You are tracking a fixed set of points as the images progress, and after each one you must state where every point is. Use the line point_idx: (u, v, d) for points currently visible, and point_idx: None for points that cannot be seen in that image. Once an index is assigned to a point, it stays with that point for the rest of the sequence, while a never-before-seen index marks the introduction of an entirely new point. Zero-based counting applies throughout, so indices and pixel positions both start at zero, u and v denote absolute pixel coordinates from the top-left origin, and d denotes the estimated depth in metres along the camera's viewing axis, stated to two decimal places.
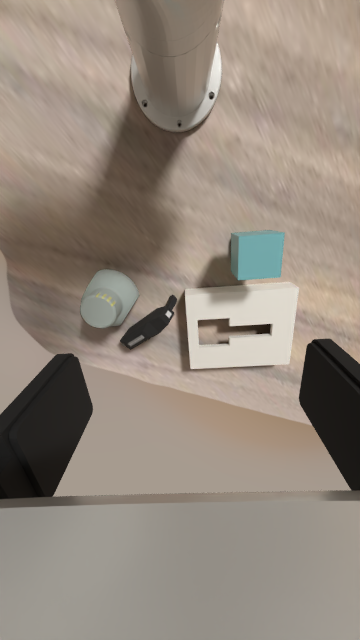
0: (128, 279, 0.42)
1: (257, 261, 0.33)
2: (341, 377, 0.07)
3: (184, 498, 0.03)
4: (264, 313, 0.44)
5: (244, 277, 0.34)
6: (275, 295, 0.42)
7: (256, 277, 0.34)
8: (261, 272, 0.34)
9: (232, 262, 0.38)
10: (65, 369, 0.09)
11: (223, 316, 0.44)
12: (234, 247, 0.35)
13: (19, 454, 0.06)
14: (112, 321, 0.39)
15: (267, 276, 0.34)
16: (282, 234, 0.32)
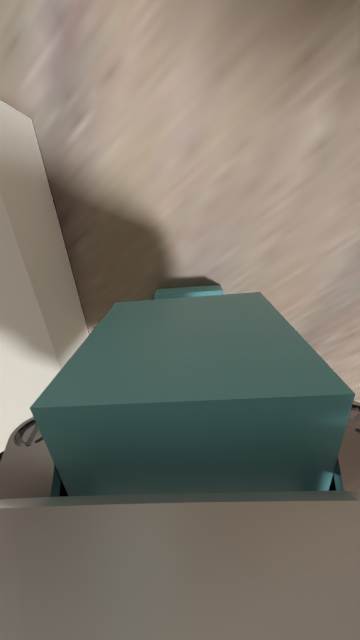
0: None
1: (171, 490, 0.05)
2: None
3: (184, 498, 0.03)
4: None
5: (60, 439, 0.05)
6: None
7: (75, 492, 0.06)
8: None
9: (150, 312, 0.09)
10: None
11: None
12: (226, 326, 0.07)
13: None
14: None
15: None
16: None
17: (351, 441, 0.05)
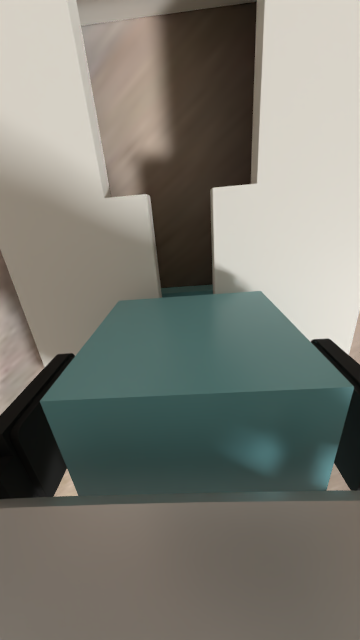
0: None
1: (176, 481, 0.06)
2: None
3: (184, 498, 0.03)
4: None
5: (69, 432, 0.05)
6: None
7: (82, 484, 0.06)
8: None
9: (154, 310, 0.09)
10: None
11: (270, 146, 0.09)
12: (228, 323, 0.07)
13: (20, 453, 0.06)
14: None
15: None
16: None
17: None
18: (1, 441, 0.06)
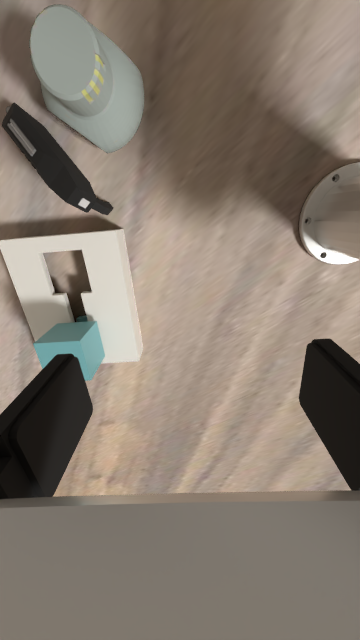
0: (130, 134, 0.27)
1: None
2: (341, 377, 0.07)
3: (184, 498, 0.03)
4: (104, 331, 0.37)
5: (38, 349, 0.30)
6: (128, 340, 0.37)
7: (41, 361, 0.31)
8: None
9: (63, 326, 0.34)
10: (65, 369, 0.09)
11: (93, 284, 0.34)
12: (76, 330, 0.32)
13: (19, 454, 0.06)
14: (51, 89, 0.20)
15: None
16: (89, 378, 0.32)
17: None
18: (0, 442, 0.06)
